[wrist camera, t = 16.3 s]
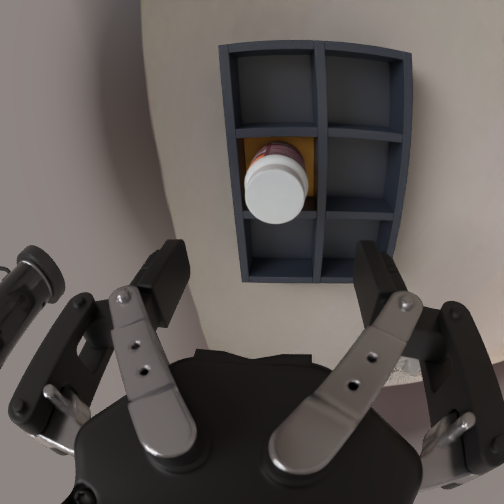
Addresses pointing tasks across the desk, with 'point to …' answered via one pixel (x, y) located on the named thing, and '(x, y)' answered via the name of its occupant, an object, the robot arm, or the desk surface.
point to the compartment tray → (319, 150)
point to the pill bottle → (276, 183)
